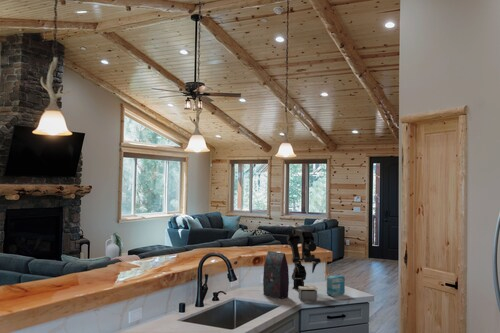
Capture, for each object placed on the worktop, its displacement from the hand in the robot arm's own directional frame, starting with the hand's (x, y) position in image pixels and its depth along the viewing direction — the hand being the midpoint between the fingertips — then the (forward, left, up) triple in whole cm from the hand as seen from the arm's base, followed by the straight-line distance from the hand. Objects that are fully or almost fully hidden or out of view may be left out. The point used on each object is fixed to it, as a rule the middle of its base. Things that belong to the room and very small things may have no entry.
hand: (305, 273), depth 298 cm
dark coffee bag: (-11, -20, -13) cm, 26 cm away
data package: (+18, +8, -13) cm, 24 cm away
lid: (+10, -15, -6) cm, 19 cm away
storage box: (+10, -15, -13) cm, 22 cm away
